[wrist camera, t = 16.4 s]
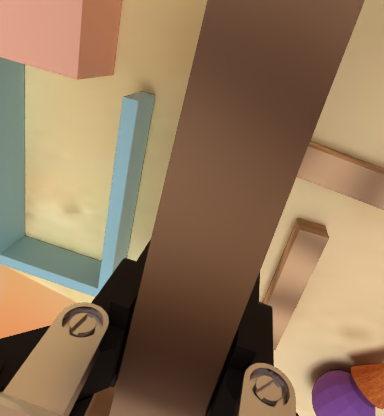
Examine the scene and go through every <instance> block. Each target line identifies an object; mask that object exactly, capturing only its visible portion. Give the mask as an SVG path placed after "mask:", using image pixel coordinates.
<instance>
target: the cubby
mask: <svg viewBox="0 0 384 416" xmlns="http://www.w3.org/2000/svg"><path fill="white" fill-rule="evenodd" d="M154 99H155V95H153V94H149V93H146V92H142V91H141V92H138V93H135V94H131V95H128V96H124V97H123V101H122V109H121V117H120V124H119V132H118V140H117V147H116V155H115V163H114V170H113V178H112V186H111V193H110V201H109V209H108V216H107V224H106V231H105V239H104V247H103V254H102V262H101V261H98V260H95V259H93V258H90V257H87V256H84V255H81V254H78V253H75V252H72V251H69V250H66V249H63V248H60V247H57V246H54V245H51V244H48V243H45V242H42V241H39V240H36V239H33V238H30V237H27V236H25V96H24V64H22V63H19V62H15V61H12V60H9V59H5V58H2V57H0V264H2V265H5V266H8V267H11V268H14V269H17V270H19V271H22V272H25V273H28V274H31V275H34V276H37V277H39V278H42V279H45V280H48V281H51V282H54V283H57V284H60V285H62V286H65V287H68V288H71V289H74V290H77V291H80V292H83V293H85V294H88V295H91V296H94V297H96V296H97V294H98V293H99V292H100V290H101V289H102V287H103V286H104V285H105V283H106V282H107V280H108V279H109V278H110V276H111V275H112V273H113V272H114V271H115V269H116V268H117V266H118V265H119V264H120V262H121V261H122V260H123V259H124V258H127V254H128V248H129V242H130V237H131V231H132V225H133V219H134V214H135V208H136V202H137V196H138V191H139V185H140V179H141V173H142V168H143V162H144V156H145V150H146V145H147V139H148V133H149V127H150V122H151V116H152V110H153V104H154Z"/></svg>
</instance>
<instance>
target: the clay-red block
mask: <svg viewBox="0 0 384 416" xmlns="http://www.w3.org/2000/svg"><path fill="white" fill-rule="evenodd" d="M121 6H122V0H0V57H2V58H5V59H9V60H12V61H15V62H19V63H22V64H26V65H29V66H33V67H36V68H40V69H43V70H46V71H50V72H53V73H57V74H60V75H64V76H67V77H71V78H74V79H84V78H92V77H100V76H108V75H114V66H115V58H116V49H117V41H118V32H119V24H120V15H121Z"/></svg>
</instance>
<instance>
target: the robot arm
mask: <svg viewBox="0 0 384 416" xmlns="http://www.w3.org/2000/svg"><path fill="white" fill-rule="evenodd" d="M150 242H151V240H150V241H149V243H148V244H147V246H146V247H145V249H144V251H143V252H142V254H141V255H140V257H139V258H138V260H137V262H136V261H133V260H130V259H127V258H124V259H123V260H122V261H121V262H120V264H119V265H118V266H117V268H116V269H115V271H114V272H113V273H112V275H111V276H110V278H109V279H108V280H107V282H106V283H105V285H104V286H103V287H102V289H101V290H100V292H99V293H98V294H97V296H96V297H95V299H94V300H93V301H92V303H77V304H73V305H70V306H69V307H67V308H65V309H64V310H63V311H62V312H61V313H60V314H59V315H58V316H57V318H56V319H55V321H54V322H53V323H52V325H50V326H46V327H43V328H39V329H36V330H32V331H28V332H24V333H21V334H17V335H13V336H9V337H6V338H2V339H0V416H88V414H89V412H90V410H91V407H92V405H93V403H94V401H95V398H96V395H97V392H100V391H102V390H104V389H107V388H109V386H110V387H113V388H114V386H115V384H116V382H117V380H118V376H119V372H120V368H121V364H122V360H123V355H124V351H125V347H126V343H127V339H128V334H129V330H130V326H131V322H132V318H133V313H134V309H135V305H136V301H137V296H138V292H139V288H140V284H141V280H142V275H143V271H144V267H145V263H146V259H147V254H148V250H149V246H150ZM259 284H260V272H259V274H258V277H257V280H256V282H255V285H254V287H253V290H252V292H251V295H250V298H249V300H248V303H247V305H246V308H245V311H244V313H243V316H242V318H241V321H240V323H239V326H238V329H237V331H236V334H235V336H234V339H233V342H232V344H231V347H230V349H229V352H228V355H227V357H226V360H225V362H224V365H223V367H222V370H221V373H220V375H219V378H218V380H217V383H216V386H215V388H214V391H213V393H212V396H211V398H210V401H209V404H208V406H207V409H206V414H205V416H299V415H298V414H297V413H296V397H295V391H294V388H293V386H292V384H291V382H290V380H289V379H288V378H287V376H286V375H285V374H284V373H283V372H281V371H280V370H279V369H278V368H276V367H274V361H273V310H272V306H270V305H267V304H264V303H261V302H259Z"/></svg>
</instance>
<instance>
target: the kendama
mask: <svg viewBox="0 0 384 416" xmlns="http://www.w3.org/2000/svg"><path fill="white" fill-rule="evenodd" d="M312 404H313V409H314V411H315V413H316V416H375V406H376V407H377V408H380V409H383V408H384V364H372V365H359V366H353V367H351V374H350V373H348V372H345V371H342V370H335V371H329V372H327V373H325V374H323V375H322V376H321V377H319V378H318V379H317V381H316V383H315V385H314V387H313V390H312Z"/></svg>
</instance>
